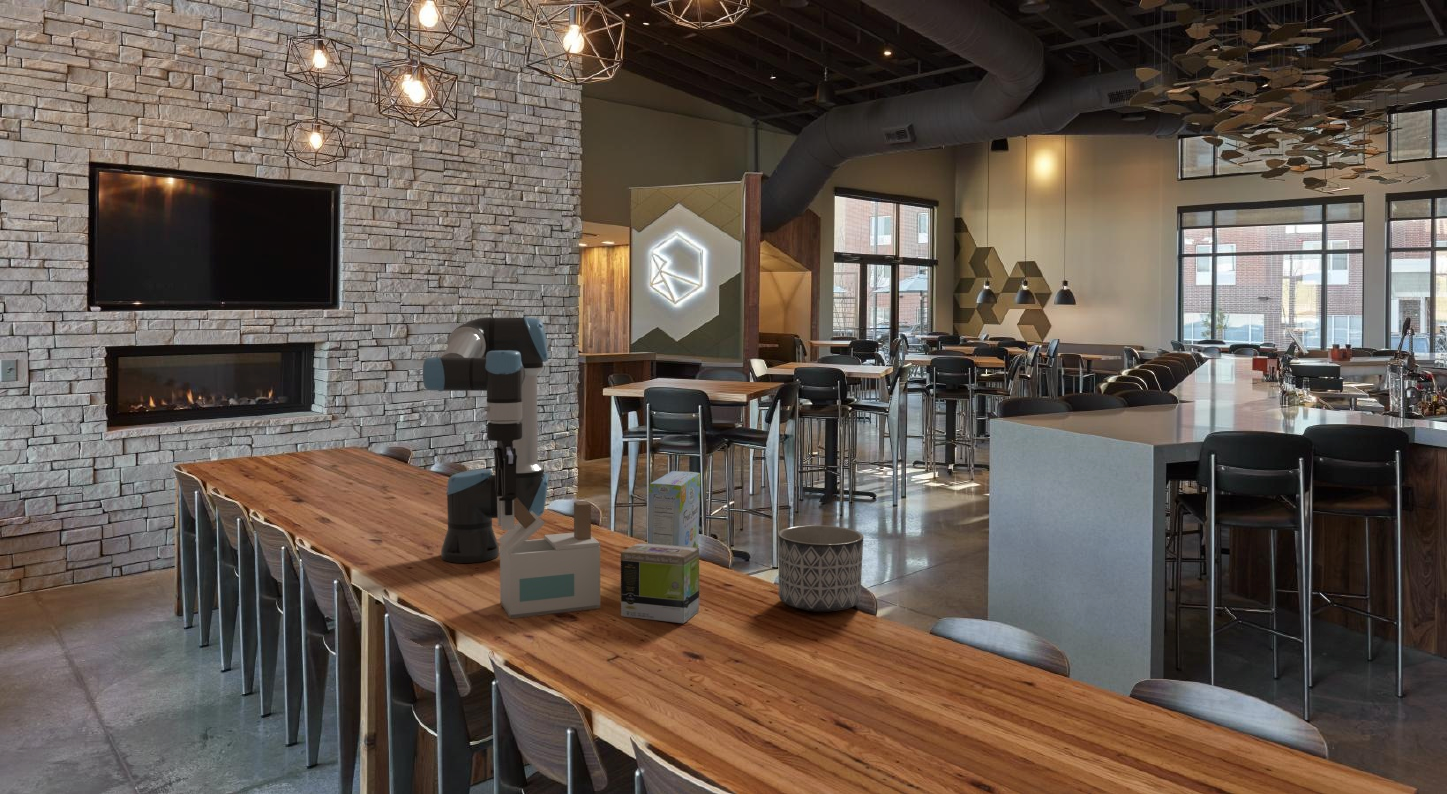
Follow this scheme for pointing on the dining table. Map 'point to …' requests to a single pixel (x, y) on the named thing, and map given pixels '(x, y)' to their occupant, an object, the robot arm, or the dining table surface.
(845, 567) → the planter
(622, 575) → the tea box
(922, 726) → the dining table surface
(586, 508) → the carton
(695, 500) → the snack box
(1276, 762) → the dining table surface
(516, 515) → the flap near
